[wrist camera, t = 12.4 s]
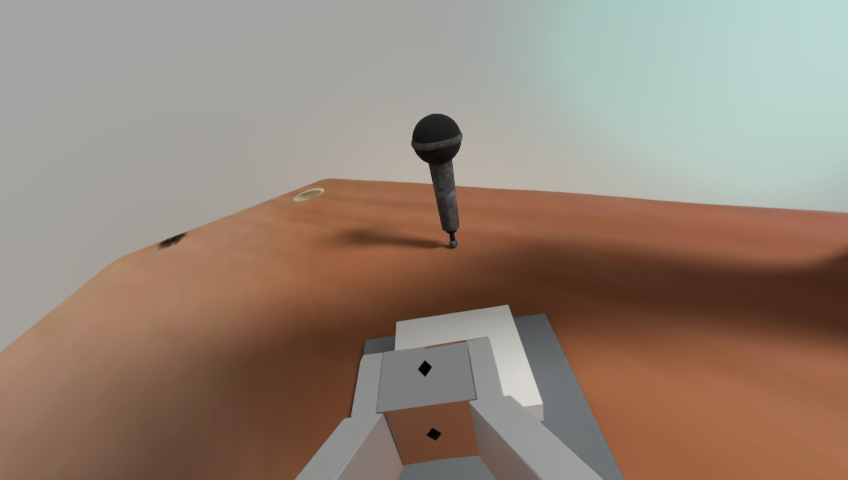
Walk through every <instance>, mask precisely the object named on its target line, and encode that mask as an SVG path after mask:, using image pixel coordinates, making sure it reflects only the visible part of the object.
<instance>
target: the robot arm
mask: <svg viewBox="0 0 848 480" xmlns="http://www.w3.org/2000/svg"><path fill="white" fill-rule="evenodd" d="M467 344H468V345H467ZM471 456H480V458H481V459H482V461H483V462H484V463H485V465H486V466H487V468H488V469H489V470H490V472H491V473H492V474H493V476H494V477H495V478H496V480H603V479H602V478H601V477H600V476H599V475H598V474H597V473H595V472H594V471H593V470H592V469H591V468H590V467H589V466H588V465H587V464H586V463H584V462H583V461H582V460H581V459H580V458H579V457H578V456H577V455H576V454H575V453H574V452H572V451H571V450H570V449H569V448H568V447H567V446H566V445H565V444H564V443H563V442H561V441H560V440H559V439H558V438H557V437H556V436H555V435H554V434H553V433H552V432H550V431H549V430H548V429H547V428H546V427H545V426H544V425H543V424H542V423H541V422H539V421H538V420H537V419H536V418H535V417H534V416H533V415H532V414H531V413H530V412H529V411H527V410H526V409H525V408H524V407H523V406H522V405H521V404H520V403H519V402H518V401H516V400H515V399H514V398H513V397H512V396H511V395H510V396H504V395H503V391H502V386H501V382H500V378H499V374H498V370H497V366H496V362H495V358H494V354H493V349H492V345H491V341H490V339H489V337H488V336H486V337H480V338H474V339H468V340H462V341H456V342H450V343H443V344H437V345H431V346H426V347H420V348H412V349H404V350H396V351H388V352H384V353H375V354H367V355H363V357H362V359H361V361H360V367H359V373H358V378H357V384H356V390H355V395H354V401H353V407H352V413H351V417H350V418H344V419H343V420H342V422H341V423H340V424H339V425H338V427H337V428H336V429H335V430H334V432H333V433H332V434H331V435H330V437H329V438H328V439H327V440H326V441H325V443H324V444H323V445H322V446H321V448H320V449H319V450H318V451H317V453H316V454H315V455H314V456H313V458H312V459H311V460H310V461H309V462H308V464H307V465H306V466H305V467H304V469H303V470H302V471H301V472H300V474H299V475H298V476H297V477H296V479H295V480H398V479H399V477H400V475H401V473H402V471H403V469H404V467H403V465H409V464H415V463H421V462H428V461H434V460H440V459H450V458H461V457H471Z"/></svg>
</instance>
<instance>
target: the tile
mask: <svg viewBox="0 0 848 480" xmlns="http://www.w3.org/2000/svg"><path fill="white" fill-rule="evenodd" d="M486 336H488V337H489V339H490V341H491V345H492V349H493V354H494V358H495V362H496V366H497V370H498V374H499V378H500V382H501V386H502V391H503V395H504V396H510V395H511V396H512V397H513V398H514V399H515V400H516V401H518V402H519V403H520V404H521V405H522V406H523V407H524V408H525V409H526V410H527V411H529V412H530V413H531V414H532V415H533V416H534V417H535V418H536V419H537V420H538V421H539V422H541V423H544V416H543V402H542V399H541V397H540V394H539V391H538V388H537V385H536V382H535V380H534V377H533V374H532V371H531V368H530V365H529V362H528V360H527V357H526V354H525V351H524V348H523V345H522V343H521V340H520V337H519V334H518V331H517V328H516V326H515V323H514V320H513V317H512V314H511V311H510V308H509V306H508V305H503V306H497V307H490V308H484V309H477V310H471V311H464V312H458V313H451V314H444V315H438V316H431V317H425V318H418V319H412V320H405V321H399V322H397V323H396V338H395V351H396V350H404V349H412V348H420V347H426V346H431V345H437V344H443V343H450V342H456V341H462V340H468V339H474V338H480V337H486ZM467 345H468V344H467Z"/></svg>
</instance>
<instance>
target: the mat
mask: <svg viewBox="0 0 848 480" xmlns="http://www.w3.org/2000/svg"><path fill="white" fill-rule="evenodd" d="M513 320H514V323H515V326H516V328H517V331H518V334H519V337H520V340H521V343H522V345H523V348H524V351H525V354H526V357H527V360H528V362H529V365H530V368H531V371H532V374H533V377H534V380H535V382H536V385H537V388H538V391H539V394H540V397H541V399H542V402H543V416H544V423H542V424H543V425H544V426H545V427H546V428H547V429H548V430H549V431H550V432H552V433H553V434H554V435H555V436H556V437H557V438H558V439H559V440H560V441H561V442H563V443H564V444H565V445H566V446H567V447H568V448H569V449H570V450H571V451H572V452H574V453H575V454H576V455H577V456H578V457H579V458H580V459H581V460H582V461H583V462H584V463H586V464H587V465H588V466H589V467H590V468H591V469H592V470H593V471H594V472H595V473H597V474H598V475H599V476H600V477H601V478H602V479H603V480H624V478H623V476H622V473H621V471H620V469H619V467H618V465H617V463H616V461H615V459H614V457H613V455H612V452H611V450H610V448H609V446H608V444H607V442H606V440H605V438H604V436H603V434H602V431H601V429H600V427H599V425H598V423H597V421H596V419H595V417H594V415H593V413H592V410H591V408H590V406H589V404H588V402H587V400H586V398H585V396H584V394H583V392H582V389H581V387H580V385H579V383H578V381H577V379H576V377H575V375H574V373H573V371H572V368H571V366H570V364H569V362H568V360H567V358H566V356H565V354H564V352H563V350H562V347H561V345H560V343H559V341H558V339H557V337H556V335H555V333H554V331H553V329H552V326H551V324H550V322H549V320H548V318H547V316H546V314H545V313H541V314H534V315H528V316H521V317H514V318H513ZM395 338H396V335H395V336H388V337H382V338H375V339H368V340H366V342H365V348H364V354H363V355H367V354H375V353H384V352H388V351H395ZM403 467H404V469H403V471H402V473H401V475H400V477H399V479H398V480H496V478H495V477H494V476H493V474H492V473H491V472H490V470H489V469H488V468H487V466H486V465H485V463H484V462H483V461H482V459H481V458H480V456H471V457H461V458H450V459H440V460H434V461H428V462H421V463H415V464H409V465H403Z"/></svg>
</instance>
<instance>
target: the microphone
mask: <svg viewBox="0 0 848 480" xmlns="http://www.w3.org/2000/svg"><path fill="white" fill-rule="evenodd" d="M461 140H462V133H461V132H460V130H459V127H458V125H457V124H456V123H455V121H454V120H452V119H451V118H450V117H448V116H446V115H443V114H431V115H428V116H426V117H424V118H423V119H421V120H420V121H419V123H418V124H417V125H416V127H415V129H414V131H413V136H412V142H411V145H412V147H413V148H414V150H415V152H416V154H417V155H418V156H419V157H420V158H421V159H422V160H423V161H425V162H427V163H429V168H430V172H431V177H432V182H433V187H434V191H435V196H436V201H437V206H438V210H439V215H440V220H441V225H442V229H443V230H444V231H446V232H447V233H449V234H450V242H449V245H450V246H451V247H453V248H454V247H456V246H457V245H458V242H457V240H455V236H454V233H455V232H456V231H457V229H458V228H459V218H458V209H457V200H456V191H455V183H454V174H453V164H452V159H453V157H455V155H456V154H457V153H458V151H459V148H460V145H461Z"/></svg>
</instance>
